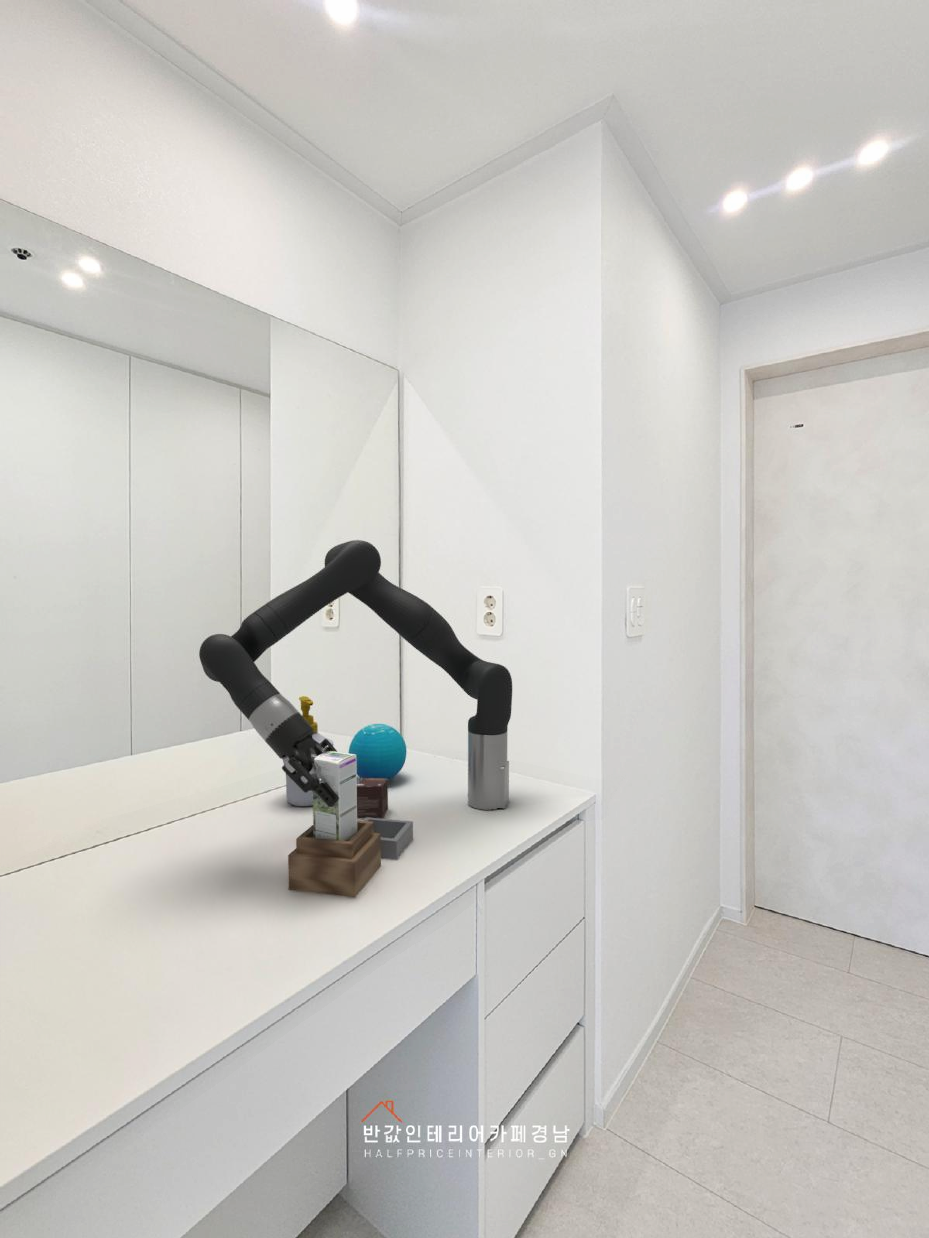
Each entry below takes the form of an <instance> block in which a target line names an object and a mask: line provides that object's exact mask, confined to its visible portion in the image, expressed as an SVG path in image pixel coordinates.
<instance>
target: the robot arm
mask: <svg viewBox="0 0 929 1238" xmlns="http://www.w3.org/2000/svg"><path fill="white" fill-rule="evenodd" d="M381 560H382V559H381V555H380V552H379V551H378V549H377V548H376V546H374V544H372V543H370V542H368V541H366V540H361V539H355V540H349V541H346V542H343V543H340V544H337V545H334V546H333V547H332V548H330V549H329V550H328V551H327V553H326V554H325V557H324V567H323V568H322V569H320V570H318V572H316V573H315V574H314V575H312V576H310V577H309V578H308V579H305V581H303V582H301V583H299V584H298V585H296V586H293V587H292V588H290V589H288V590H287V591H284V592H282V593H281V594H279V595H277V596H275V597H274V598H272V599H270V600H269V601H267V602H266V603H265V604H263V605H262V606H260V607H259V608H257V609H256V610H254V612H252V613H250V614H249V615H248V616H247V617H245V618H244V619H243V621H242V622H241V623H240V627H239V628H238V629H237V631H235V632H234V633H233V634H232V635H231V636H230V635H228V634H224V633H215V634H212V635H209V636H208V637H207V638H205V639H204V640H203V641H202V643H201V645H200V648H199V655H198V657H199V661H200V663H201V667H202V669H203V672H204V673H205V675H206V676H207V677H208V678H209V679H210V680H212V681H214V682H217V683H219V684H221V685H222V687H223V688H224V689H225V690H226V691H227V693H228V694H229V696H230V698H231V700H232V702H233V704H234V705H235V706H236V707H237V709H238V710H239V711H240V712H241V713H242V714H243V715H244V717H245V718H246V719H248V721H249V722H250V724H251V725H252V728H253V729H254V730H255V731H256V733H258V735H259V736H260V737H261V738H262V739H263V740H264V742H265V743H266V744H267V745H268V746H269V748H270V749H272V751H273V752H274V753H275V754H276V756H278V758H279V759H281V760H283V759H285V758H287V757H288V758H289V760H288V761H287V762H286V763H285V764H284V763H283V765H282V767H281V769H282V771H283V772H284V773H285V775H286V774H287V775H288V776H289V777H290V778H291V779H292V780H293V781H294V782H295V783H296V784H297V785H298V786H299V787H300V788H301V789H302V790H303V791H304V792H305V793H307V792H308V791H312V792H316V793H317V794H318V795H319V796H320V798H322V800H323V801H324V802H325V803H326V804H327V805H328V806H329V807H332V806H333V805H334V804H335V803H336V802H337V801H338V800H339V797H338V796H337V794H336V793H335V792H334V791H333V790H332V789H331V787H330V786H329V785H328V784H327V783H326V782H325V783H324V780H323V777H322V775H321V768H320V767H319V766H318V764H317V763H316V761H315V760H314V759H315V758H316V756H318V755H320V754H322V753H325V752H329V751H335V752H338V750H337V749H336V748H335V746H334V744H333V745H332V744H331V743H330V742H329V741H328V740H327V739H324V740H323V741H322V742H321V743H318V742H317V741H315V740H314V739H313V738H312V735H313V734H314V728H313V727H312V726H311V725H310V724H309V723H308V722H307V721H306V719H305V718H304V717H303V716H302V715H303V714H301V712H300V711H299V710H298V709H297V708H296V707H295V706H294V704H293V703H292V702H291V701H289V700H288V699H287V698H286V697H284V695H282V693H280V691H279V690H278V689H277V688H276V687H275V686H274V684H272V682H271V681H270V680H269V679H267V677H266V676H264V674H263V673H262V672H261V671H260V670H259V668H258V666H257V665H256V663H255V662H256V661H257V660H258V659H259V658H260V657H261V655H262V656H263V654H264V652H266V651H267V650H268V649H269V648H270V647H272V646H274V645H275V644H277V643H278V642H280V641H281V640H282V639H284V638H285V637H286V636H287V635H289V634H290V633H291V632H293V631H294V630H295V629H296V628H298V627H299V626H301V625H302V624H303V623H304V622H306V621H307V620H308V619H310V618H311V617H313V616H314V615H315V614H317V613H318V612H319V611H321V610H322V609H323V608H325V607H326V606H328V605H329V604H331V603H333V602H334V601H336V600H337V599H339V598H341V597H342V596H344V595H346V594H350V595H351V596H353V597H354V598H355V599H357V600H358V601H360V602H361V603H363V604H364V605H365V606H367V607H368V608H370V609H371V610H372V612H374V613H375V614H376V616H377V617H379V618H380V619H381V620H383V622H385V624H387V625H388V626H389V627H390V628H391V629H393V630H394V631H395V632H396V633H397V634H398V635H399V636H400V637H402V639H404V641H406V642H407V643H408V644H409V645H411V646H412V647H413V648H414V649H416V650H417V651H418V652H419V653H421V654H422V655H423V656H425V657H426V658H427V659H429V660H430V661H431V662H433V663H434V664H436V665H437V666H438V667H440V668H441V669H442V670H444V672H446V673H447V675H448V676H450V677H451V679H452V680H453V681H454V682H455V683H456V684H457V685H458V686H459V687H460V688H461V690H463V692H464V693H466V694H467V695H468V696H469V697H471V698H472V699H474V700H477V701H476V702H477V704H476V713H475V715H473V716H471V717H469V719H468V720H467V804H468V805H469V806H470V807H471V808H474V809H476V810H477V809H478V810H485V811H487V810H488V811H491V810H492V809H493V810H498V809H497V808H505V809H506V807H507V805H508V803H509V801H508V800H510V784H509V783H510V762H509V760H508V729H509V728H508V726H509V723H510V720H511V717H512V705H513V704H512V703H513V680H512V679H513V678H512V676H511V672H510V671H509V670H508V668H507V667H506V666H504V665H502V664H500V663H495V662H490V661H486V660H483V659H481V658H480V657H479V656H477V655H475V653H473V652H472V651H470V650H469V649H467V648H466V647H465V646H464V645H463V644H462V643H461V641H460V640H459V639H458V637H457V635H456V633H455V631H454V629H453V628H452V626H451V625H450V624H449V622H448V621H447V620H446V619H445V618H444V617H443V616H442V614H440V612H438V611H437V610H436V609H434V607H432V605H430V604H429V603H428V602H426V601H425V600H423V599H421V598H420V597H418V596H417V595H415V594H413V593H411V592H410V591H408V590H405V589H403V588H401V587H399V586H397V585H395V584H394V583H392V582H391V581H390V580H388V579H387V578H385V577H384V575H382V573H380V571H381V567H382V561H381ZM296 771H297V772H296ZM301 777H302V779H303V781H306V782H307V783H306V784H305V783H304V782H303V781H302V780H301ZM314 777H315V778H316V779H315V778H314ZM323 783H324V784H323ZM507 802H508V803H507ZM506 804H507V805H506Z"/></svg>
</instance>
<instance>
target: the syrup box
mask: <svg viewBox="0 0 929 1238" xmlns="http://www.w3.org/2000/svg"><path fill="white" fill-rule="evenodd" d="M314 760H315V761H316V763H317V764H318V766H319V767H320V768H321V775H322V777H323V780H324V783H325V782H326V783H327V784H328V785H329V786H330V787H331V789H332V790H333V791H334V792H335V793H336V794H337V796H338V797H339V800H338V801H337V802H336V803H335V804H334V805H333V806H332V807H329V806H328V805H327V804H326V803H325V802H324V801H323V800H322V798H320V796H319V795H318V794H317V793H316V792H313V805H312V822H313V823H312V825H313V838H321V839H331V840H341V841H346V840H348V839H349V838H351V837H353V836H354V835H355V834H356V833H357V832H358V828H357V820H358V818H357V784H358V783H357V782H358V775H357V757H356V754H349V752H347V753H346V752H341V751H337V752H335V751H329V752H325V753H322V754H320V755H318V756H316V758H315V759H314ZM314 778H315V777H314ZM315 779H316V778H315ZM324 783H323V784H324Z"/></svg>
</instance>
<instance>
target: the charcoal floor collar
mask: <svg viewBox="0 0 929 1238" xmlns="http://www.w3.org/2000/svg"><path fill="white" fill-rule="evenodd" d="M362 821H372V822H373V828H374V833H381V859H389V860H398V859H399V858H400V856H401V855H402V853H403V852H404V851H405V850H406V848H407V847H408V845H409V844H410V843H411V841H412V840H413V839H414V821H413V820H404V819H403V820H401V819H390V818H369V817H366V818H363V820H362Z"/></svg>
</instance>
